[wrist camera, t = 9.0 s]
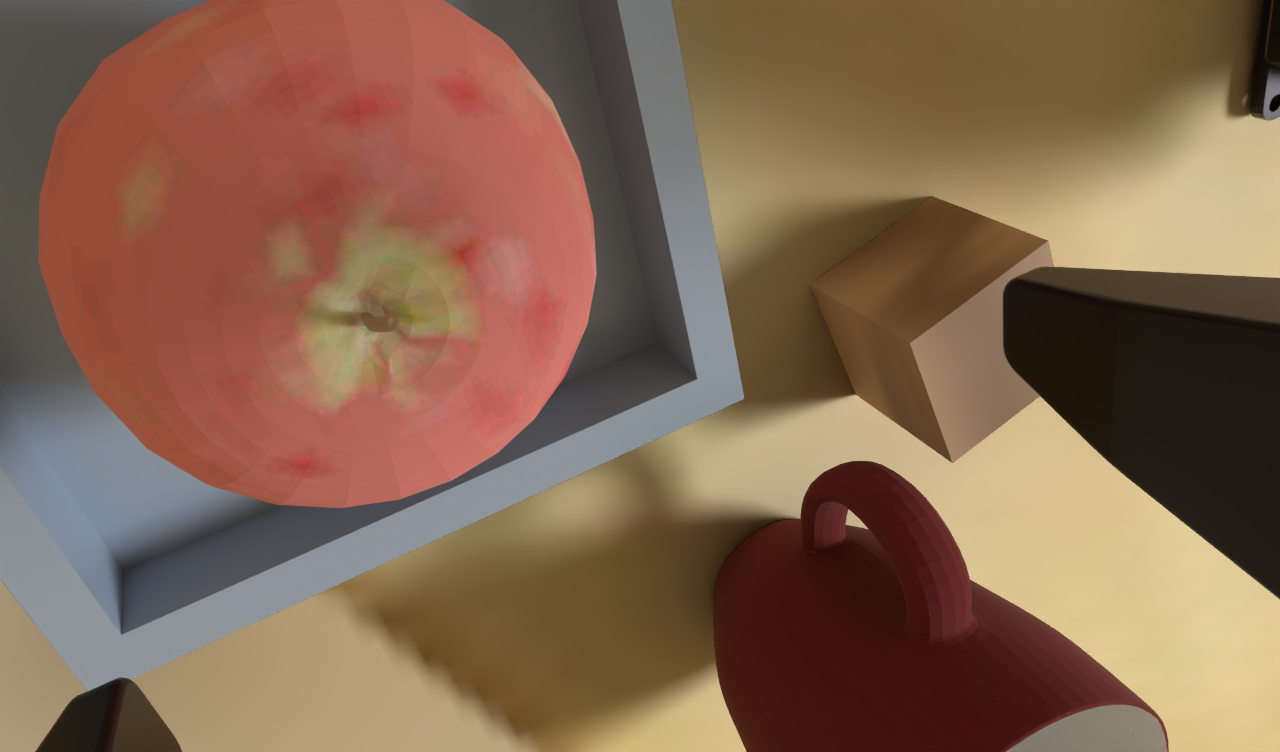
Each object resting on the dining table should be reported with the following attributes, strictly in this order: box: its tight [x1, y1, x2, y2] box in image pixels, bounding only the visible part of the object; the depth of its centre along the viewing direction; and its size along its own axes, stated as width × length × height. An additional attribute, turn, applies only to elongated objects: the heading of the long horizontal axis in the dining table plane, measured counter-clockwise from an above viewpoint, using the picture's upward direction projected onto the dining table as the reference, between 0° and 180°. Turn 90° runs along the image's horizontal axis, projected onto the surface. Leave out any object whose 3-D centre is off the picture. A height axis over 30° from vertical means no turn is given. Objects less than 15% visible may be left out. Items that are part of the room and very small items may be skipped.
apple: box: [39, 0, 597, 508], centre depth 14 cm, size 7×7×8 cm
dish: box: [0, 0, 744, 691], centre depth 17 cm, size 14×14×3 cm
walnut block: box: [810, 196, 1054, 463], centre depth 24 cm, size 4×4×4 cm
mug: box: [713, 461, 1169, 752], centre depth 23 cm, size 11×8×10 cm
